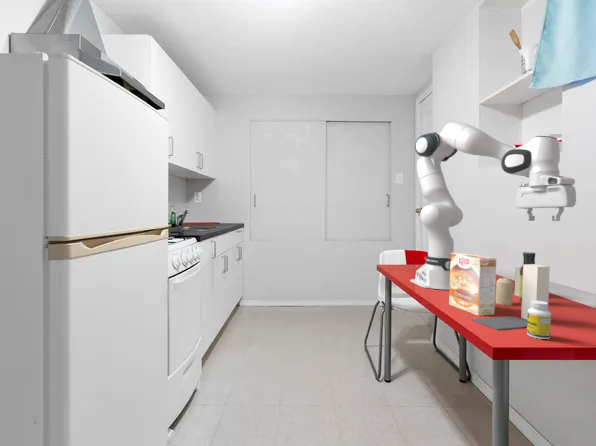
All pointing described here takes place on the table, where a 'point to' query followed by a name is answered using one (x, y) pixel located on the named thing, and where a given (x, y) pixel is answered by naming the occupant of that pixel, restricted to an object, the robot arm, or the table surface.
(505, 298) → the candle
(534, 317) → the supplement bottle
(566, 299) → the table surface
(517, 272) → the can
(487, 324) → the mat
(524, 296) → the block
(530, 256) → the sauce bottle
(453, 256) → the coffeecake box
